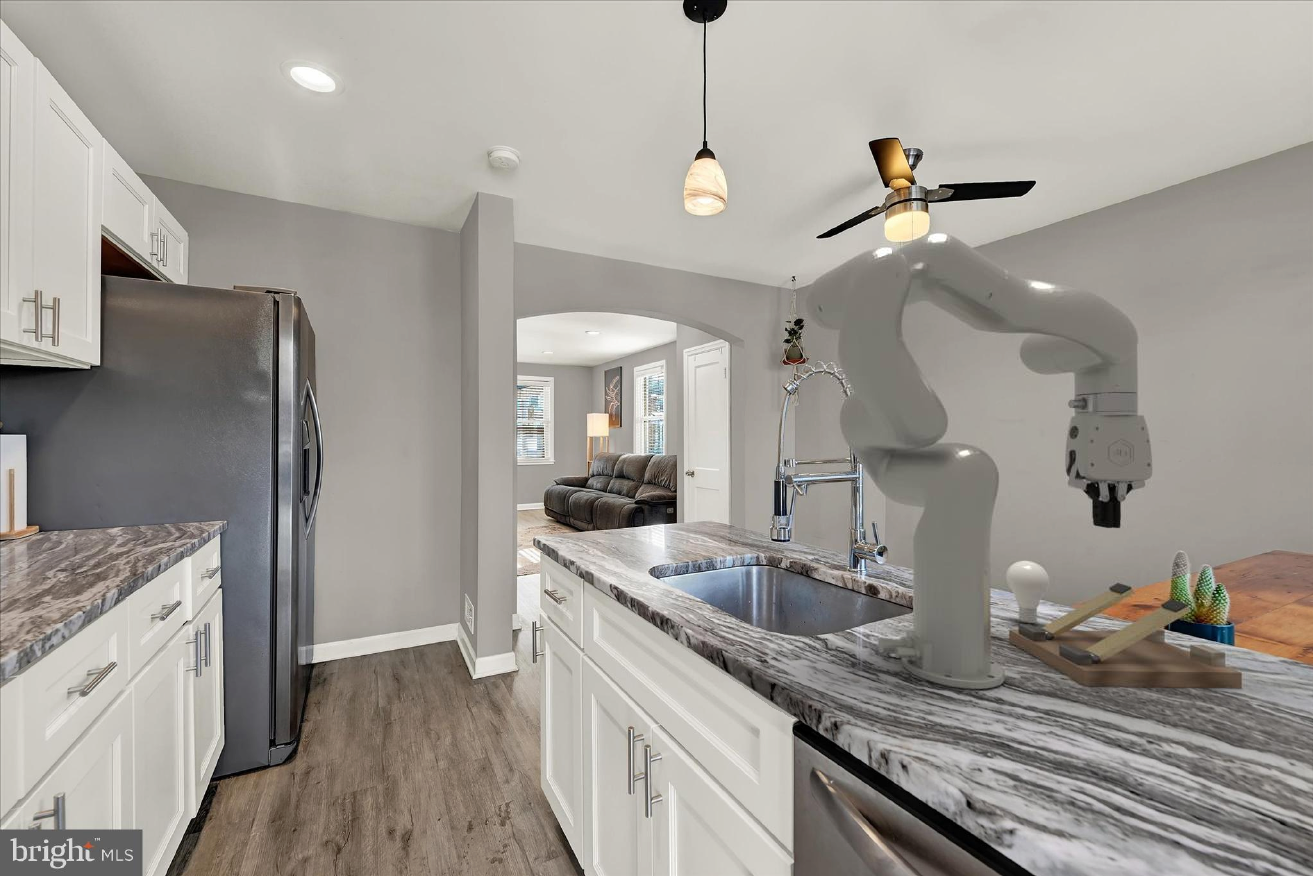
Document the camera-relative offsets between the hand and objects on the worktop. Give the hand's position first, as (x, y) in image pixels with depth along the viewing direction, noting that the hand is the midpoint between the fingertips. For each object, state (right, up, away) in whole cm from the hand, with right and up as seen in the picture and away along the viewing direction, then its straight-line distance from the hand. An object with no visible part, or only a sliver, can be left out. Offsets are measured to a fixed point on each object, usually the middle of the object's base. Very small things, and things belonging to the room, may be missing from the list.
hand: (1106, 526), depth 84 cm
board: (-3, -19, -5) cm, 20 cm away
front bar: (-3, -13, -9) cm, 17 cm away
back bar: (-3, -14, 0) cm, 14 cm away
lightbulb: (-3, -19, +13) cm, 23 cm away
